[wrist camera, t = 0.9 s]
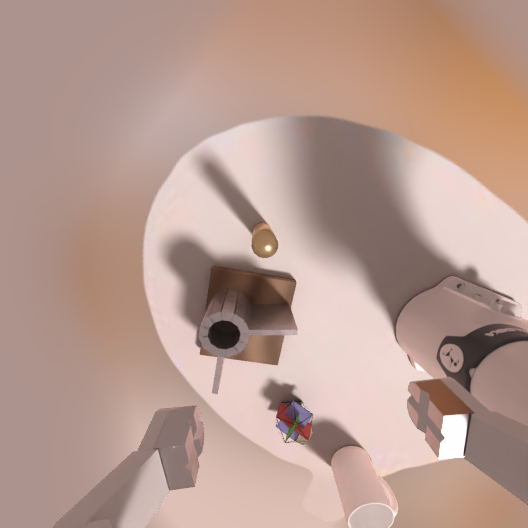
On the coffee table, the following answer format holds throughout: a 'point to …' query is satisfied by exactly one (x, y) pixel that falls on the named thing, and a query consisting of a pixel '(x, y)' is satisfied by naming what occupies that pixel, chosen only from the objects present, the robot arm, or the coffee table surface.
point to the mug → (362, 490)
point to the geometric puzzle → (295, 422)
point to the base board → (258, 292)
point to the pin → (264, 241)
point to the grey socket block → (240, 325)
